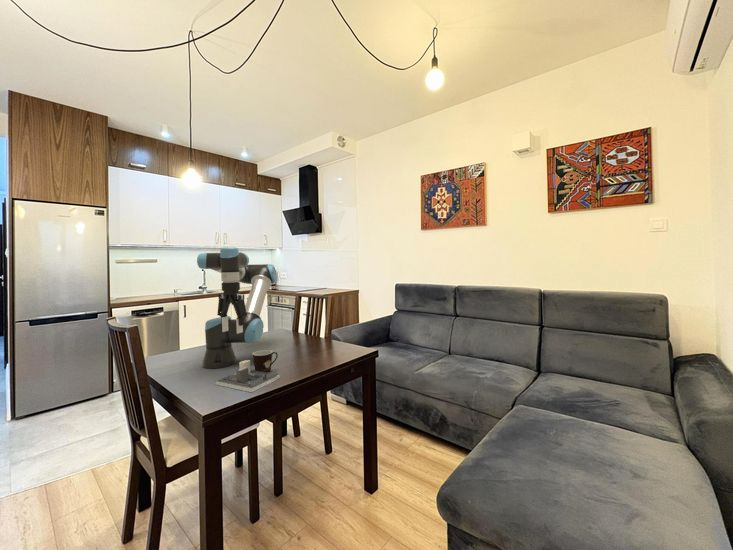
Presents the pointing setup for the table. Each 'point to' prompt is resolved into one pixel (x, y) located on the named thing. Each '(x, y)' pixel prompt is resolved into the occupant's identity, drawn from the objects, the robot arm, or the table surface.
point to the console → (250, 380)
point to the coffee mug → (263, 360)
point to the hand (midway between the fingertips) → (232, 331)
